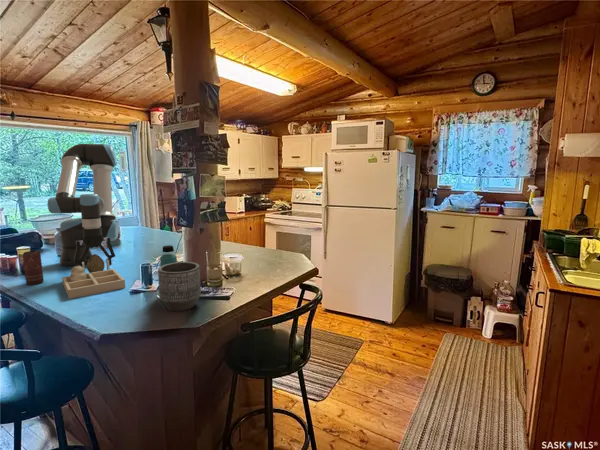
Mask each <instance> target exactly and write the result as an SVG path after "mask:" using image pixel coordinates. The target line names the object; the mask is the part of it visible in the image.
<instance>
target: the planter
mask: <svg viewBox="0 0 600 450" xmlns="http://www.w3.org/2000/svg"><path fill="white" fill-rule="evenodd" d="M157 271H158V273H157V274H158V276H157V277H158V288H159V289H158V292H159V300H160V302H161V303H162V305H164V306H165V308H166V309H167V310H168V311H171V312H183V311H188V310H191V309H192V308H194V307H195V306H196V304H197V302H198V301H199V298H200V297H201V293H202V292H201V270H200V264H198V263H197V262H192V261H177V262H175V263H170V264H166V265H163V266H161V265H160V267H158V268H157Z"/></svg>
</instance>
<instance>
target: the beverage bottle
mask: <svg viewBox="0 0 600 450" xmlns="http://www.w3.org/2000/svg"><path fill="white" fill-rule="evenodd" d="M174 251H175V250H174V245H170V244H169V245H163V246H162V253H164V254H162V255H160V257H159V262H160V267H161V266H163V265H166V264H170V263H175V262H178V259H177V258H178V256H177V255H176V254H175V253H172V252H174Z"/></svg>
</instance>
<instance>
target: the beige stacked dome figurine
mask: <svg viewBox="0 0 600 450" xmlns="http://www.w3.org/2000/svg"><path fill="white" fill-rule="evenodd" d="M69 276H70V280H71V282H74V281H80V280H86V277H87V276H86V271H85V272H84V268H83V267H81V266H79V265H78V266H72V268H71V269H70V275H69Z"/></svg>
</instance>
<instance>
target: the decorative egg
mask: <svg viewBox="0 0 600 450" xmlns="http://www.w3.org/2000/svg"><path fill="white" fill-rule="evenodd" d="M105 265H106V264H105V261H104V260H103V258H102V256H100V255H98V253H97V254H96V253H94V254H93V253H92V256H91V257H90V258H89V260H88V262H87V264H86V269H87V272H88V273H92V272H99V271H105Z"/></svg>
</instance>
